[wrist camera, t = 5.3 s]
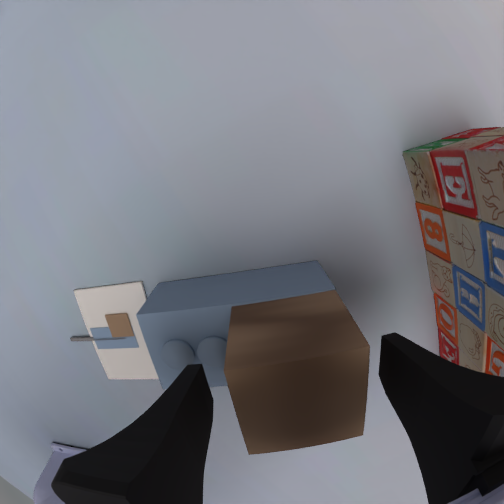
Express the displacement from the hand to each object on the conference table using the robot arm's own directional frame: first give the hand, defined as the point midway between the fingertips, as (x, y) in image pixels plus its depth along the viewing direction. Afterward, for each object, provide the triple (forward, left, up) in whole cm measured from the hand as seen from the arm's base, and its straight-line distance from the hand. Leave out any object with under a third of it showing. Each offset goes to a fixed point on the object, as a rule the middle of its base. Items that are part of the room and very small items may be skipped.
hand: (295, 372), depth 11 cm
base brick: (-2, 0, -6) cm, 7 cm away
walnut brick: (0, 0, -2) cm, 2 cm away
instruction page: (-10, -1, -6) cm, 12 cm away
